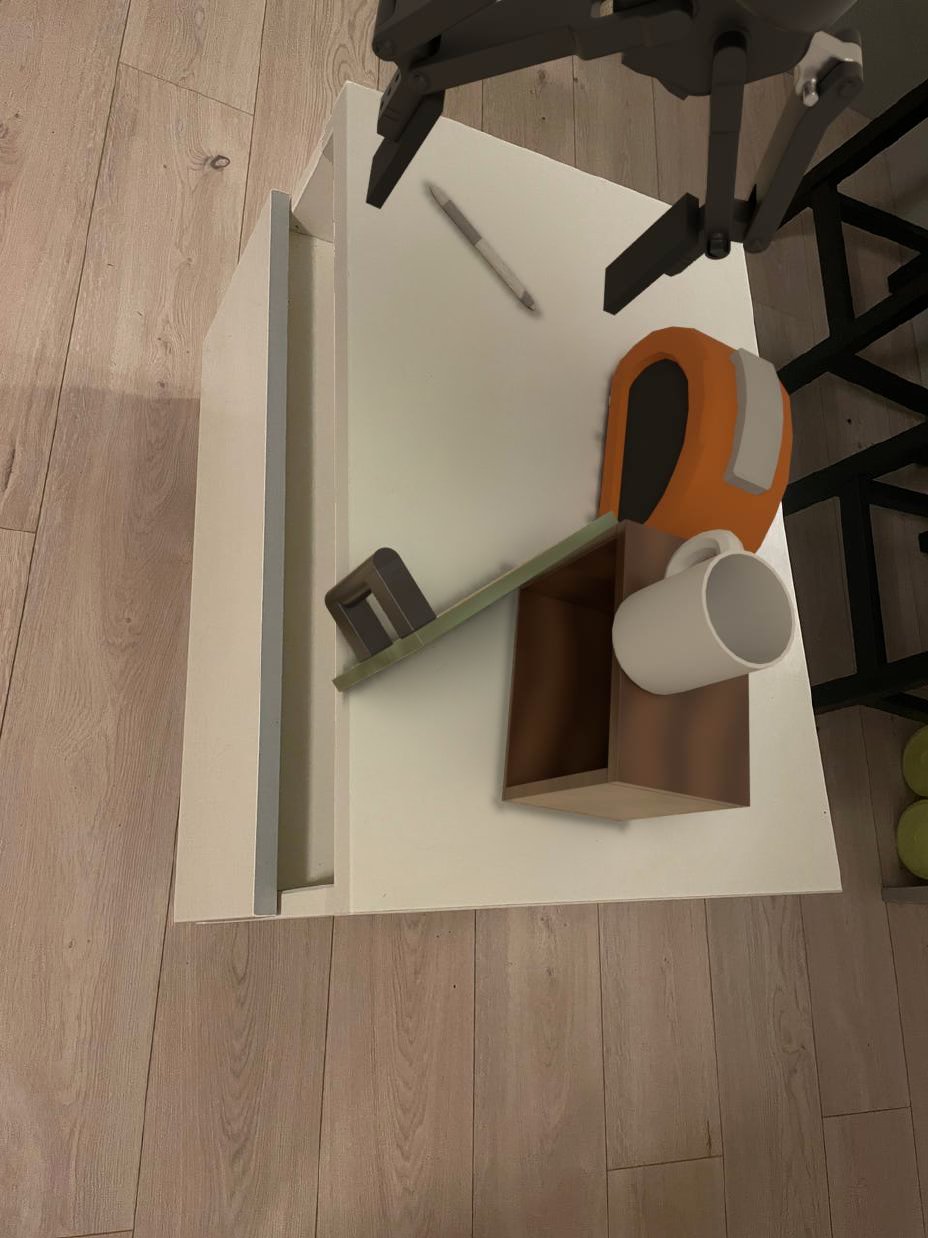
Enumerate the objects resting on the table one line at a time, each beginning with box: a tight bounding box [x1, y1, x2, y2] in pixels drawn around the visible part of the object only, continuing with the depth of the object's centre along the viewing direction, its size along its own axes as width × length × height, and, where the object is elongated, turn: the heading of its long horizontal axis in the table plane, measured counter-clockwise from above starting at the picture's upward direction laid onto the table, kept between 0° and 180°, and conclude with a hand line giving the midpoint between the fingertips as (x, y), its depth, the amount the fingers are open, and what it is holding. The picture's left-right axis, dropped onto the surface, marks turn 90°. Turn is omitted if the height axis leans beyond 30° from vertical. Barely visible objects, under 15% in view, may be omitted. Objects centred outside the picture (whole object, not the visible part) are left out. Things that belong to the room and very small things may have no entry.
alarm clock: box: [598, 325, 794, 554], centre depth 77 cm, size 23×9×17 cm, turn 171°
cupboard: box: [501, 519, 751, 822], centre depth 69 cm, size 11×18×15 cm, turn 174°
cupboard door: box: [324, 511, 619, 693], centre depth 64 cm, size 6×18×15 cm, turn 126°
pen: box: [430, 184, 536, 311], centre depth 83 cm, size 1×14×1 cm, turn 49°
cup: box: [612, 529, 797, 695], centre depth 58 cm, size 7×10×9 cm
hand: (499, 241), depth 47 cm, fingers open, 13 cm apart
